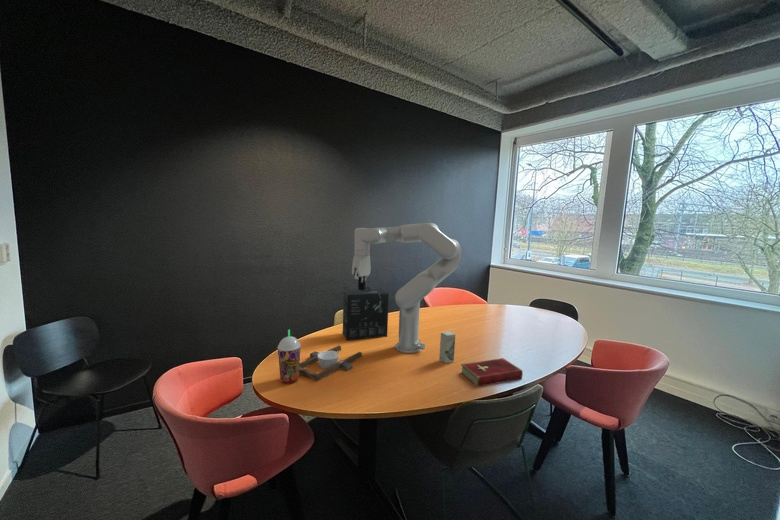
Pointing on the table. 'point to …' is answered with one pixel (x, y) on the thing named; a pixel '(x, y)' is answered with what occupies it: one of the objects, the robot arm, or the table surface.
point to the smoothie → (289, 359)
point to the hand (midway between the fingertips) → (361, 289)
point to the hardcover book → (491, 371)
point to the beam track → (341, 364)
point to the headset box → (365, 313)
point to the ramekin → (327, 359)
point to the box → (447, 347)
